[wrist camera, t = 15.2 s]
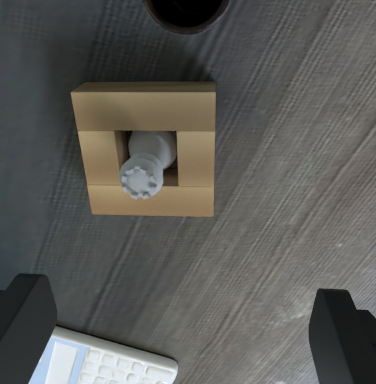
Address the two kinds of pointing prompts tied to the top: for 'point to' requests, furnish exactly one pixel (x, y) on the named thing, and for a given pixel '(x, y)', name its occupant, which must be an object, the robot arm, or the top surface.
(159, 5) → the planter
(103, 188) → the holder
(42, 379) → the calculator
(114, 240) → the top surface
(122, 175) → the rook chess piece
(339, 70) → the top surface
